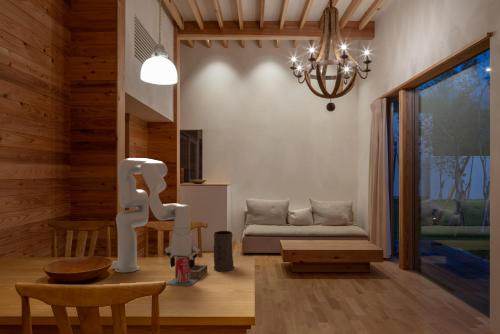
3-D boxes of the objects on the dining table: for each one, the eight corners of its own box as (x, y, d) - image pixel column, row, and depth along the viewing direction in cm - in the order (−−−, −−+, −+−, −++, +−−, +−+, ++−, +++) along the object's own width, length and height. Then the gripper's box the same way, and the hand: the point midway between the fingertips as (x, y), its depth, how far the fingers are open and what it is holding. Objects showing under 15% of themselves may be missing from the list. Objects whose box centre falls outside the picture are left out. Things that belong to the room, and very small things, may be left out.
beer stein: (230, 272, 192) (230, 234, 192) (210, 271, 194) (210, 233, 195) (237, 265, 207) (237, 229, 207) (219, 264, 209) (219, 228, 210)
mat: (166, 284, 172) (166, 283, 172) (175, 278, 182) (175, 277, 182) (190, 286, 169) (190, 285, 169) (198, 280, 179) (198, 279, 179)
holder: (176, 278, 182) (176, 270, 183) (185, 271, 194) (185, 264, 194) (199, 279, 180) (199, 271, 180) (207, 273, 191) (207, 265, 192)
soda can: (176, 279, 179) (176, 254, 179) (190, 279, 179) (191, 254, 179) (174, 284, 171) (174, 258, 172) (190, 283, 172) (190, 257, 172)
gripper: (161, 231, 174) (161, 268, 174) (196, 232, 170) (196, 270, 170) (168, 229, 181) (168, 264, 181) (202, 230, 177) (202, 266, 177)
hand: (182, 267), depth 175 cm, fingers open, 9 cm apart
